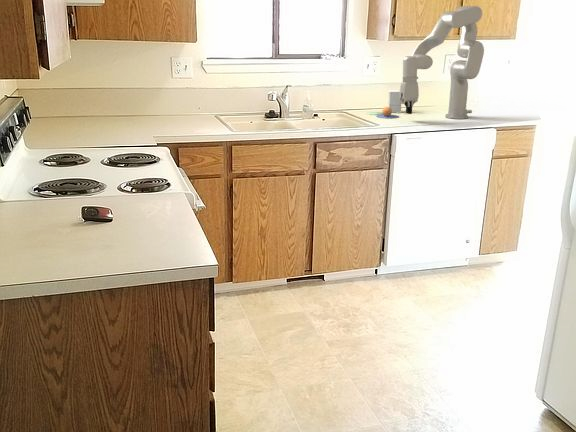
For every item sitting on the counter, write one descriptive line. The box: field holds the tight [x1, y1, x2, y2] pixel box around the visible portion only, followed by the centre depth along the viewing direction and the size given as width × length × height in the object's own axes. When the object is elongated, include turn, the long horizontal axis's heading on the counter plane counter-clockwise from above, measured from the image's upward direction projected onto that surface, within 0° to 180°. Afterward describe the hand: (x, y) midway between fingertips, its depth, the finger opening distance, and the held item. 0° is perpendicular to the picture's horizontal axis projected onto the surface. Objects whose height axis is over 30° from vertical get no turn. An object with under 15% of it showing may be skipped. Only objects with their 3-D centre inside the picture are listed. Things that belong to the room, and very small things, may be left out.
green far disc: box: [367, 111, 382, 116], centre depth 355 cm, size 10×10×1 cm
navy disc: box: [375, 114, 400, 119], centre depth 345 cm, size 13×13×1 cm
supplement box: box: [387, 89, 402, 114], centre depth 359 cm, size 7×7×13 cm
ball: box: [381, 106, 393, 116], centre depth 344 cm, size 6×6×6 cm
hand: (409, 113), depth 330 cm, fingers closed
